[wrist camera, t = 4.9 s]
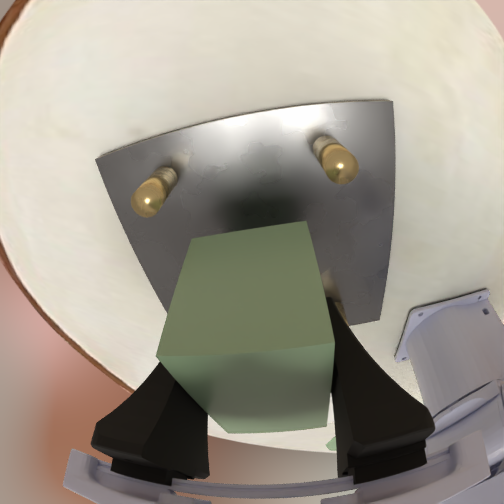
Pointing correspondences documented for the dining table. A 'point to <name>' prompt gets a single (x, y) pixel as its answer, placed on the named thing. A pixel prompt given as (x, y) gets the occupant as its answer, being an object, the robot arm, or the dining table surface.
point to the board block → (252, 330)
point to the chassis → (267, 192)
